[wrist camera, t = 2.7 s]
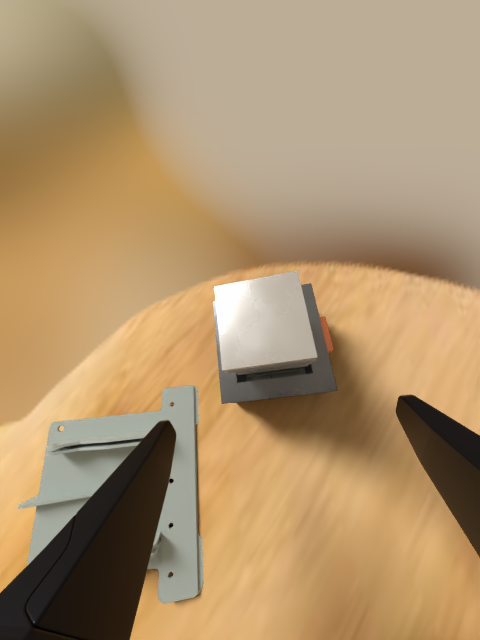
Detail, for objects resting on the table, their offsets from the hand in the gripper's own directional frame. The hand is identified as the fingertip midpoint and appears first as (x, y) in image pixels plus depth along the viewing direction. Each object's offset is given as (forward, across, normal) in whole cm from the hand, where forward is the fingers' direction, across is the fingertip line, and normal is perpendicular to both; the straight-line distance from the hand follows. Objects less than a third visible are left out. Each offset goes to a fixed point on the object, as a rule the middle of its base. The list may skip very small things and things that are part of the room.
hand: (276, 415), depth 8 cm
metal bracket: (+4, +14, +12) cm, 19 cm away
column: (+9, 0, +3) cm, 10 cm away
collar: (+10, 0, +5) cm, 11 cm away
